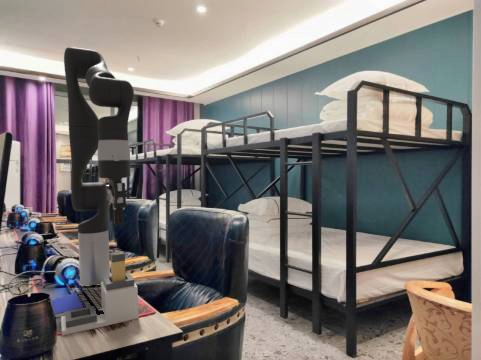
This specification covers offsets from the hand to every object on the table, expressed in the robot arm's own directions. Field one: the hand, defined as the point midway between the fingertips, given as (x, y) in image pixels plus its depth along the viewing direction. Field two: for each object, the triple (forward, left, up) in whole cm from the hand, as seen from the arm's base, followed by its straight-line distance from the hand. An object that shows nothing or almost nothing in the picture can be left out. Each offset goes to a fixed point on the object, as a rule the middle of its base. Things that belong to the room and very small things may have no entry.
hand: (116, 222), depth 87 cm
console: (0, -5, -24) cm, 24 cm away
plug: (0, 0, -16) cm, 16 cm away
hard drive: (-14, -12, -25) cm, 31 cm away
